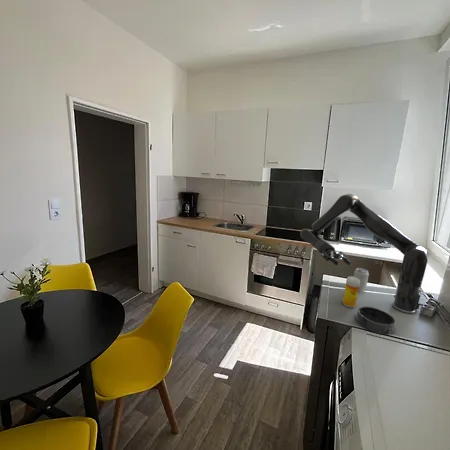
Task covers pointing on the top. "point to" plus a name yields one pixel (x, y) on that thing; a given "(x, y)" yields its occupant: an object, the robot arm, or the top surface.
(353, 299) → the beer can
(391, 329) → the dark grey bowl
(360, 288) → the can
